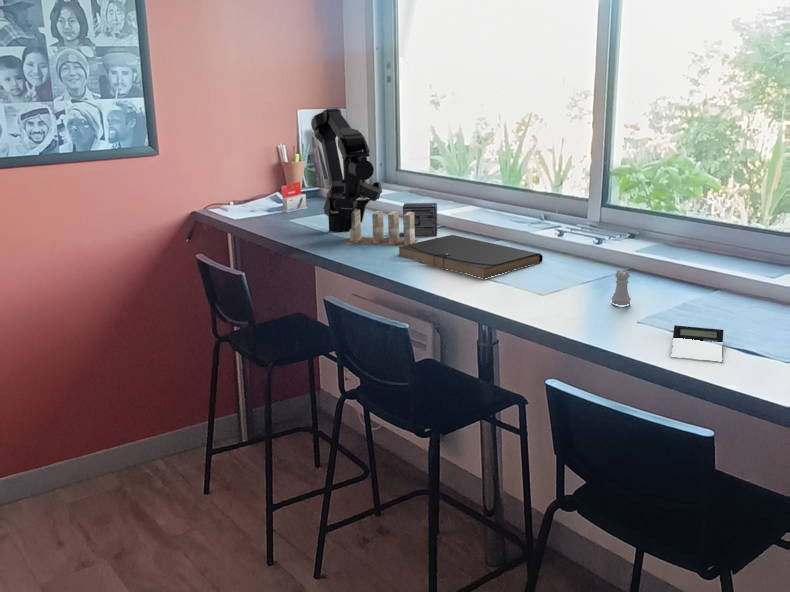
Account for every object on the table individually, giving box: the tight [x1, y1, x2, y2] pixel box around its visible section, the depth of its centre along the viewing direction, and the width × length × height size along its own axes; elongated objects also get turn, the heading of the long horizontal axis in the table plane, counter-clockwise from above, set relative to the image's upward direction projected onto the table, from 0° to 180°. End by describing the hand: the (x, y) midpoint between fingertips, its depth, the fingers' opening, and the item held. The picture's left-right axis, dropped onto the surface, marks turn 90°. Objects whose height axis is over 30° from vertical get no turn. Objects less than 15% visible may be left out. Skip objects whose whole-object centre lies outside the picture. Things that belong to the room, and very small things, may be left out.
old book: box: [398, 234, 544, 280], centre depth 228 cm, size 33×4×24 cm
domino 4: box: [403, 212, 416, 245], centre depth 245 cm, size 2×5×9 cm, turn 162°
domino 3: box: [387, 210, 400, 244], centre depth 247 cm, size 2×5×9 cm, turn 162°
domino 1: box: [349, 210, 362, 242], centre depth 250 cm, size 2×5×9 cm, turn 162°
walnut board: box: [342, 236, 419, 247], centre depth 249 cm, size 22×8×1 cm, turn 72°
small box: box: [402, 202, 438, 238], centre depth 255 cm, size 11×6×10 cm, turn 84°
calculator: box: [672, 325, 724, 343], centre depth 160 cm, size 9×12×3 cm
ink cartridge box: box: [280, 181, 307, 213], centre depth 302 cm, size 2×11×10 cm, turn 147°
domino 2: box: [371, 210, 385, 243], centre depth 248 cm, size 2×5×9 cm, turn 162°
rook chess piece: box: [611, 269, 632, 305], centre depth 187 cm, size 4×4×8 cm
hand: (355, 225), depth 250 cm, fingers open, 9 cm apart
